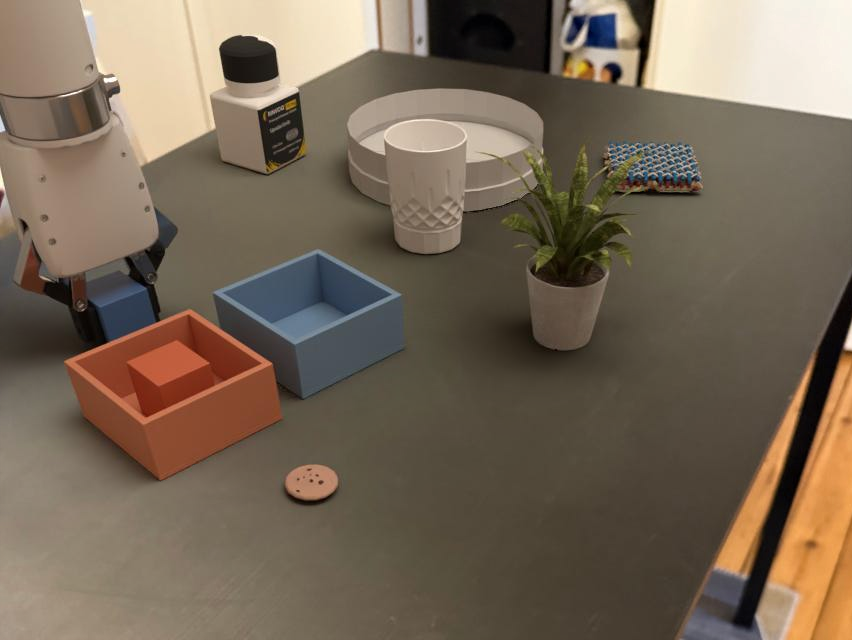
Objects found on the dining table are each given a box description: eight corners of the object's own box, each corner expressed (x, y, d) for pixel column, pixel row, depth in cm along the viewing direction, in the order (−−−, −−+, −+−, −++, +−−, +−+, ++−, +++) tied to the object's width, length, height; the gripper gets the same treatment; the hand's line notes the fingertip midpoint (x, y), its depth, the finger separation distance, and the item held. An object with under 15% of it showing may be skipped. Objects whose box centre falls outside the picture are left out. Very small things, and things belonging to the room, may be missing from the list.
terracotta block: (141, 412, 73) (125, 361, 69) (189, 389, 75) (176, 339, 72) (172, 436, 71) (158, 386, 67) (221, 412, 73) (209, 362, 69)
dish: (527, 222, 97) (530, 173, 93) (325, 203, 99) (319, 154, 95) (554, 141, 111) (557, 95, 107) (376, 126, 113) (373, 81, 110)
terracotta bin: (83, 416, 73) (63, 360, 69) (203, 362, 78) (190, 308, 75) (160, 481, 68) (142, 424, 64) (282, 418, 73) (273, 363, 70)
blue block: (88, 335, 81) (71, 287, 78) (133, 317, 83) (119, 269, 80) (114, 355, 79) (99, 307, 76) (160, 336, 81) (147, 288, 78)
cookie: (302, 511, 66) (300, 500, 65) (275, 481, 68) (273, 470, 67) (349, 490, 67) (347, 480, 67) (321, 462, 69) (320, 451, 69)
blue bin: (223, 346, 80) (212, 292, 76) (324, 301, 86) (318, 248, 82) (303, 399, 75) (294, 344, 71) (405, 348, 80) (402, 294, 77)
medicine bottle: (268, 176, 104) (249, 55, 94) (220, 161, 106) (197, 42, 97) (308, 154, 108) (294, 36, 99) (261, 141, 110) (243, 25, 101)
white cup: (378, 250, 92) (370, 144, 85) (405, 217, 97) (400, 114, 90) (452, 263, 91) (451, 156, 83) (476, 228, 96) (477, 124, 88)
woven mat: (690, 158, 108) (693, 139, 107) (702, 197, 101) (706, 178, 100) (601, 156, 108) (603, 137, 107) (608, 195, 101) (610, 176, 100)
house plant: (456, 372, 78) (454, 172, 66) (479, 291, 87) (481, 102, 75) (624, 388, 77) (655, 187, 64) (630, 304, 86) (658, 114, 74)
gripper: (129, 68, 73) (182, 286, 87) (-83, 123, 65) (12, 353, 79) (181, 93, 69) (228, 316, 83) (-36, 154, 62) (56, 390, 75)
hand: (123, 332), depth 81 cm, fingers closed on blue block, 4 cm apart
